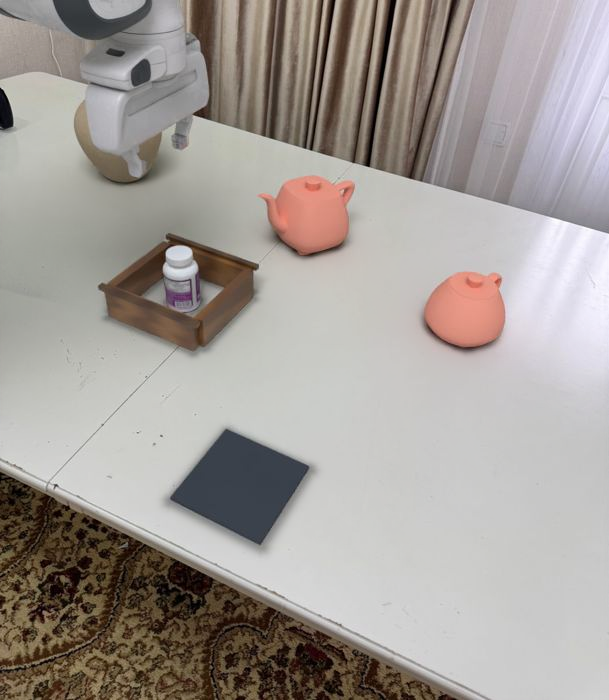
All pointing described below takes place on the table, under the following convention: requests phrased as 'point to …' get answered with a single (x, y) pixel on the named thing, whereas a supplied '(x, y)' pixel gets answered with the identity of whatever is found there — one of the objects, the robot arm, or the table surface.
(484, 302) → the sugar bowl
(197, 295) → the pill bottle
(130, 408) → the table surface
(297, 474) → the coaster
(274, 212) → the teapot
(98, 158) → the vase
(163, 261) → the wooden square frame
